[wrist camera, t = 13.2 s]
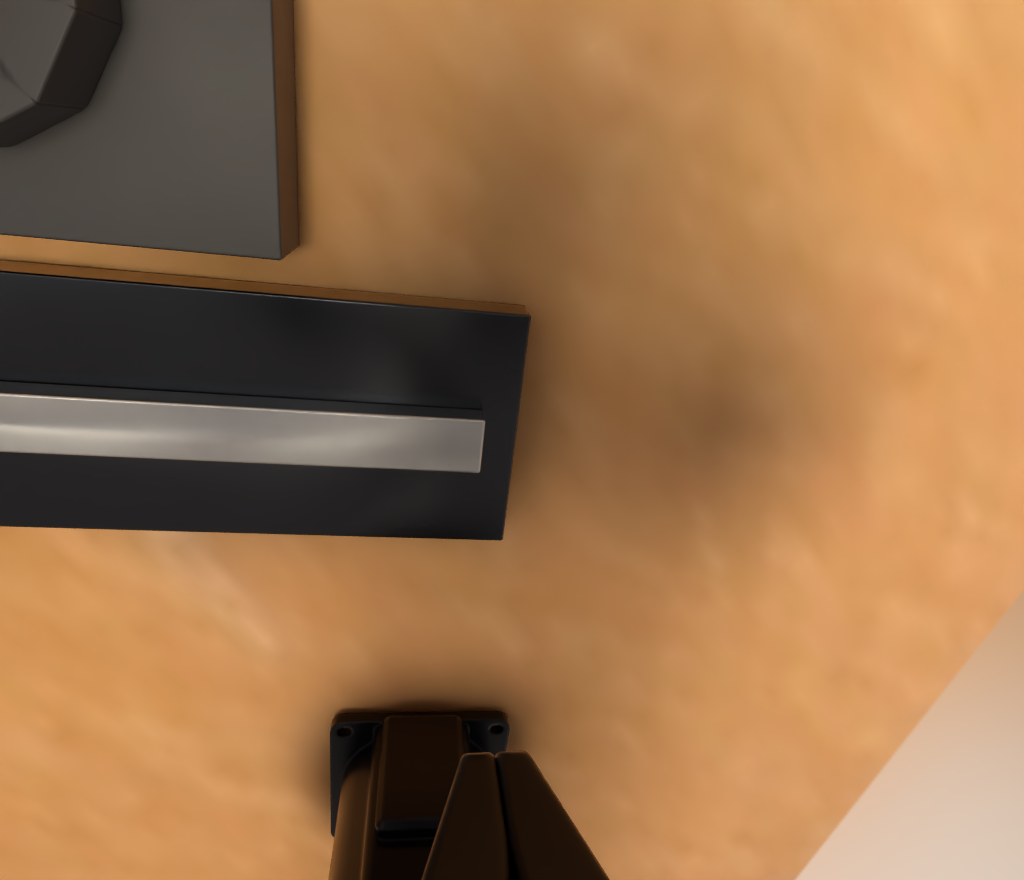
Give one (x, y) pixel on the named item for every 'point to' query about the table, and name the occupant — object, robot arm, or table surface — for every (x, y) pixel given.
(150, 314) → the rail
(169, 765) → the table surface
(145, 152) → the box
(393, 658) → the table surface
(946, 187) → the table surface
